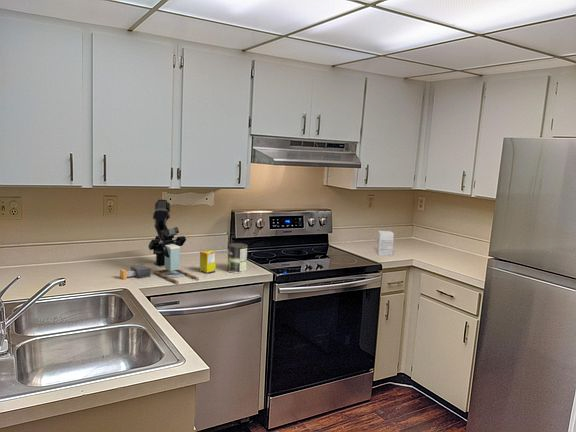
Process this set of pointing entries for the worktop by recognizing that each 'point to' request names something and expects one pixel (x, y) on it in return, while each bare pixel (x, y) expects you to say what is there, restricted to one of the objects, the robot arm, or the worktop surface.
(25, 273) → the worktop surface
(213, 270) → the supplement box
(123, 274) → the plunger
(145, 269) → the reset housing
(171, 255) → the pale teal box
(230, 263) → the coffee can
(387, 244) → the supplement box
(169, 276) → the track
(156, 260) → the robot arm
